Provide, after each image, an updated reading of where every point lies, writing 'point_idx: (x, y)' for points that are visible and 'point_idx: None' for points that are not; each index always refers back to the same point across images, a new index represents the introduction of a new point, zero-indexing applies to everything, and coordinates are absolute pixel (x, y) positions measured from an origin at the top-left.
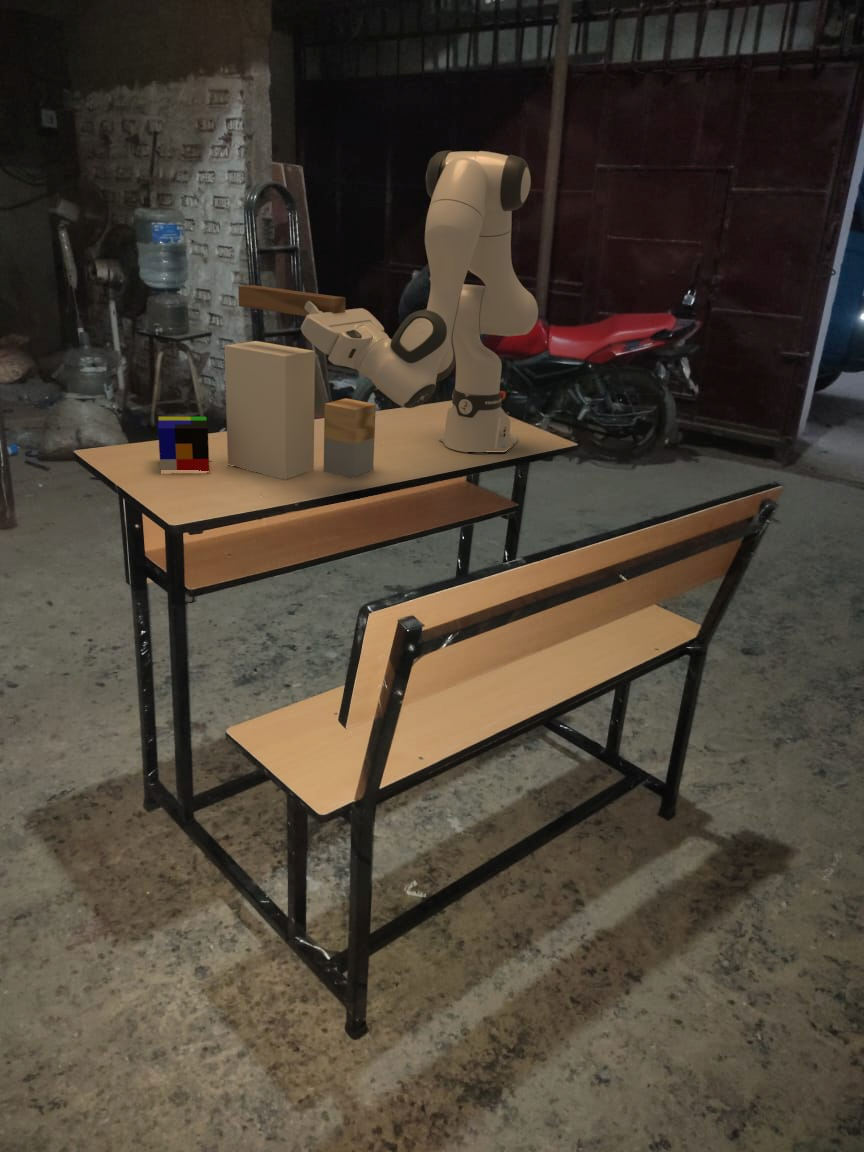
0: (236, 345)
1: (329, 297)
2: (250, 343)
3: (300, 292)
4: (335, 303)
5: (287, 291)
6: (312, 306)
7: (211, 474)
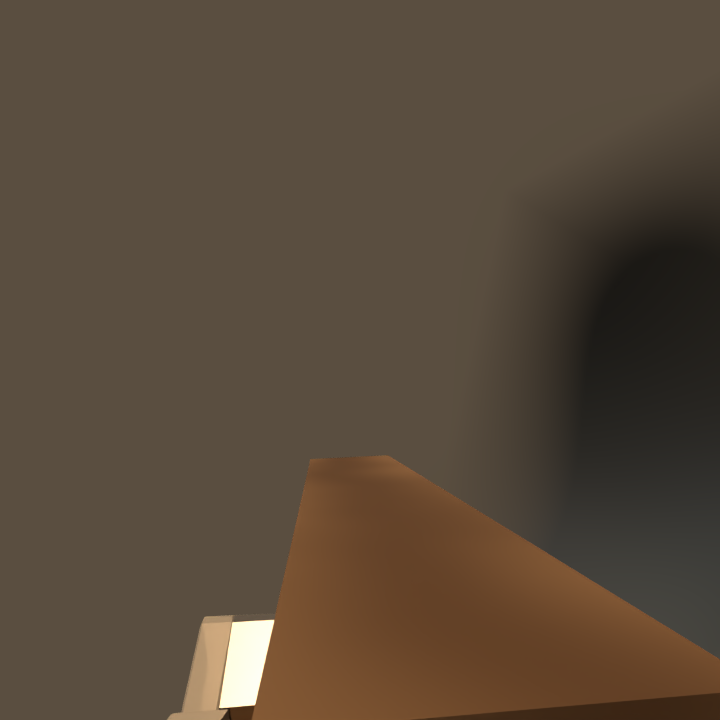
0: None
1: (379, 623)
2: None
3: (407, 497)
4: None
5: (361, 487)
6: (183, 708)
7: None
